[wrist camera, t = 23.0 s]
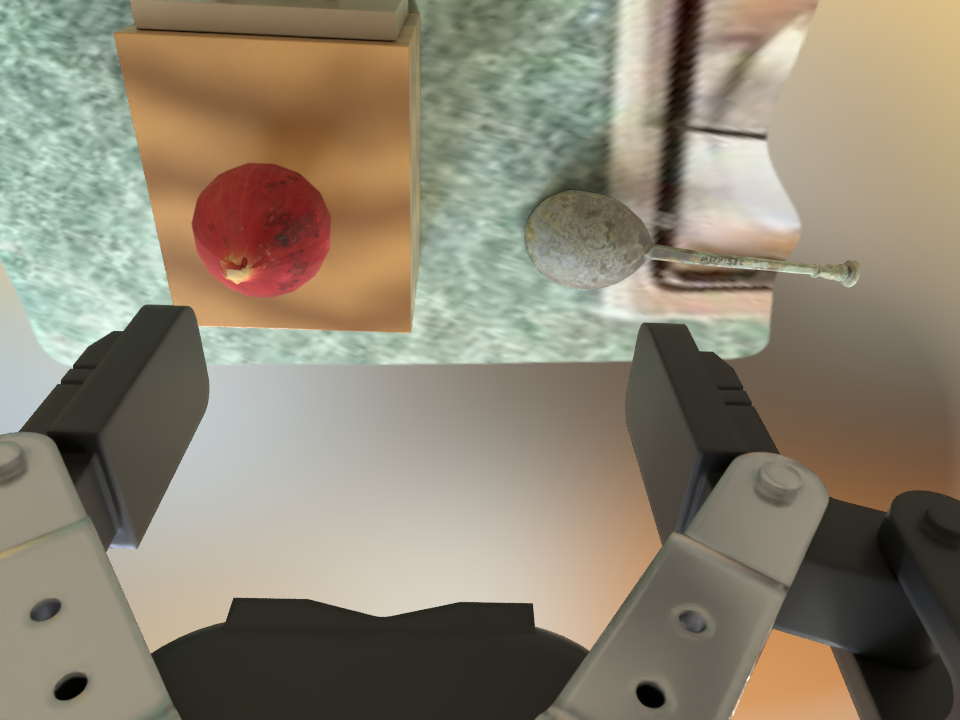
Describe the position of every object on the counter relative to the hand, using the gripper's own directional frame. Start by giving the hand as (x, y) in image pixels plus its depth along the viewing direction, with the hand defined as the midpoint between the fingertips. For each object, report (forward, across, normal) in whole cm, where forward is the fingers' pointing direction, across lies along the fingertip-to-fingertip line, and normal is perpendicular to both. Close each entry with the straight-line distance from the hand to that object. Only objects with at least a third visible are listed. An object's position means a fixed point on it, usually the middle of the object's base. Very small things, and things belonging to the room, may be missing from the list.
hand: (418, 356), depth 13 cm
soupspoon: (+32, -16, +12) cm, 38 cm away
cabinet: (+32, +8, +6) cm, 33 cm away
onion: (+22, +8, +6) cm, 25 cm away
